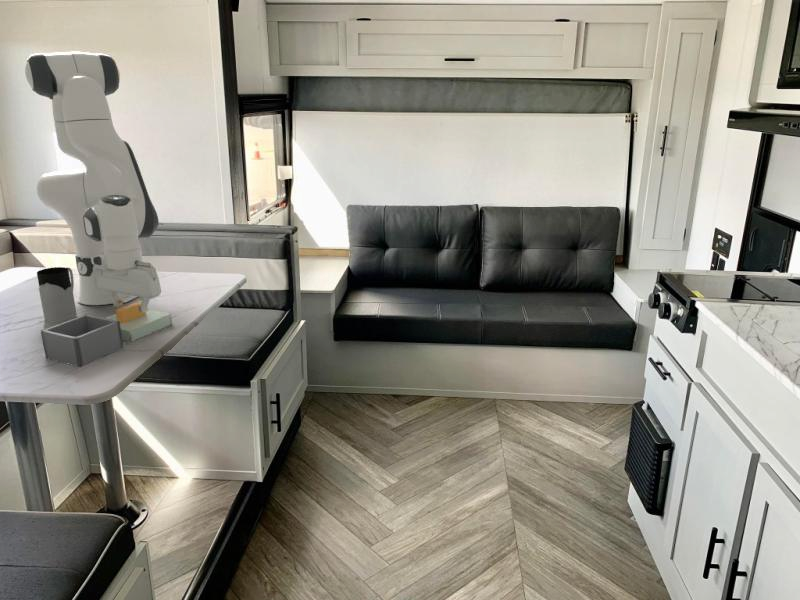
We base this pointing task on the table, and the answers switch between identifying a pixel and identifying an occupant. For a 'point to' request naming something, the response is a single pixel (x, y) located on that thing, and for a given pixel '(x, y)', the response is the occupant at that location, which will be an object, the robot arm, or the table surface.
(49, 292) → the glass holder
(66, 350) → the parts tub
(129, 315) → the lid
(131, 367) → the table surface
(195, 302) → the table surface
